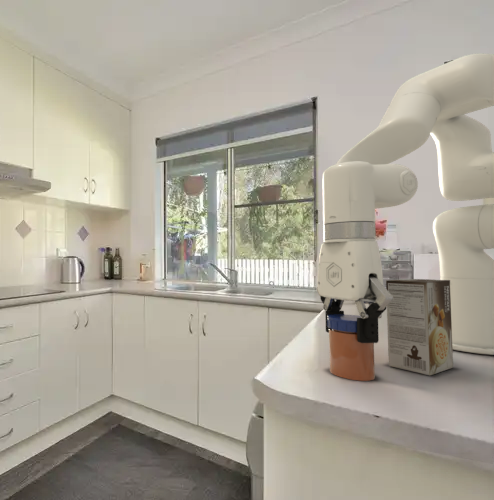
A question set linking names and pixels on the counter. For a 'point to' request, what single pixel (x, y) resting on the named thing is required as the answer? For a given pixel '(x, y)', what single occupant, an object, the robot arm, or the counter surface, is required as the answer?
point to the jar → (350, 356)
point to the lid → (343, 322)
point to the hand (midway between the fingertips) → (350, 336)
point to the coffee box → (420, 325)
